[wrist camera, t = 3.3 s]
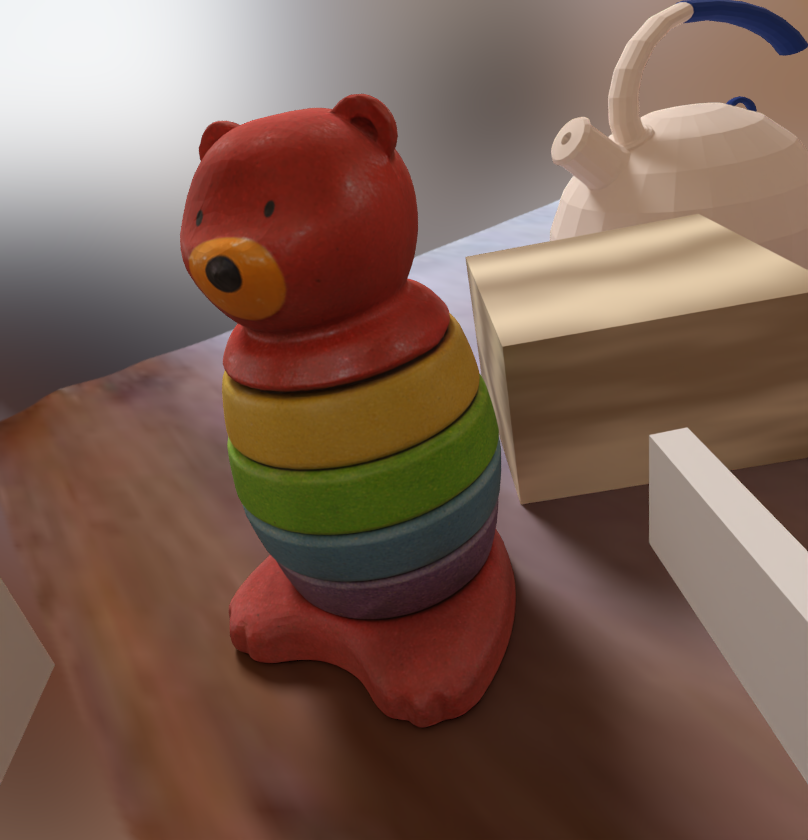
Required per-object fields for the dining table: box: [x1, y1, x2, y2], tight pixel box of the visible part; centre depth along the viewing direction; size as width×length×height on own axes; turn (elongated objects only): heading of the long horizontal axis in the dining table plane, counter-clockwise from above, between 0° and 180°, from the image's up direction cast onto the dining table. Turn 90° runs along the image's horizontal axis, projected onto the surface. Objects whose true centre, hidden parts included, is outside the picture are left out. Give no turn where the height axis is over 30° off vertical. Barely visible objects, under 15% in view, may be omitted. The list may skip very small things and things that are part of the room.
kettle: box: [550, 0, 808, 270], centre depth 48 cm, size 20×21×18 cm
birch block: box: [466, 214, 808, 504], centre depth 34 cm, size 13×13×8 cm
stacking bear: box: [180, 94, 516, 727], centre depth 22 cm, size 11×10×18 cm
